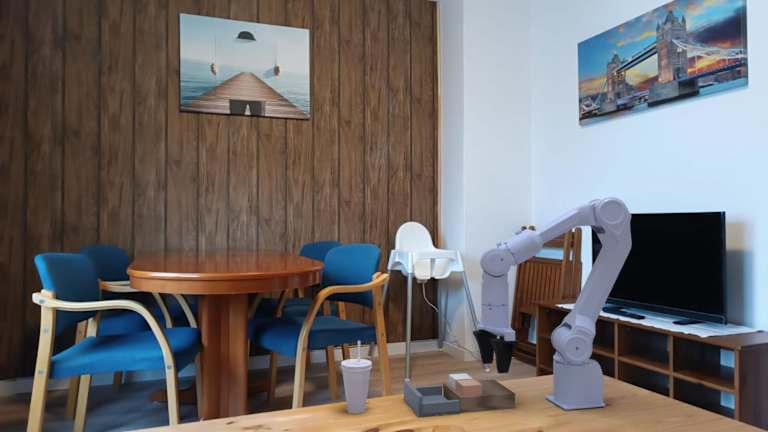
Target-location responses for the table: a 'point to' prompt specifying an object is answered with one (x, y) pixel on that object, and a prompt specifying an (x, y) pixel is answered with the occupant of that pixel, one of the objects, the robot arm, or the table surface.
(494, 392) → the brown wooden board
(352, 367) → the smoothie
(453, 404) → the tray
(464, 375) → the tile cream
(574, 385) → the robot arm
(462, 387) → the tile terracotta
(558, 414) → the table surface
